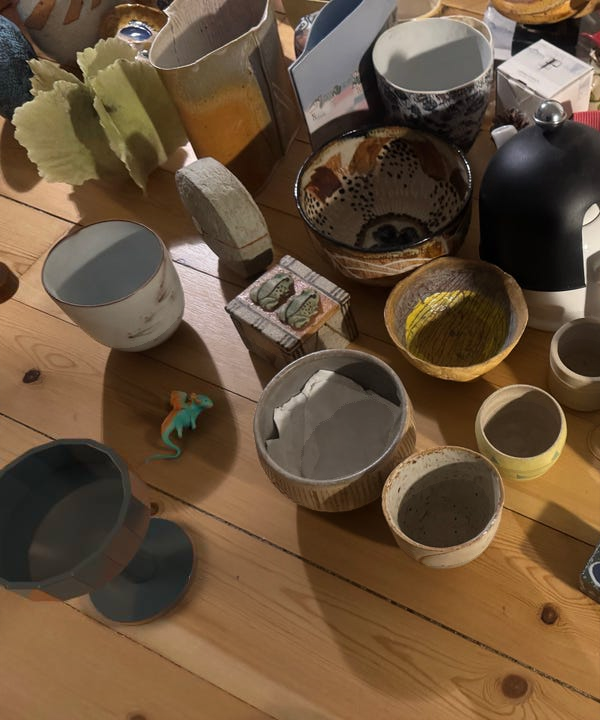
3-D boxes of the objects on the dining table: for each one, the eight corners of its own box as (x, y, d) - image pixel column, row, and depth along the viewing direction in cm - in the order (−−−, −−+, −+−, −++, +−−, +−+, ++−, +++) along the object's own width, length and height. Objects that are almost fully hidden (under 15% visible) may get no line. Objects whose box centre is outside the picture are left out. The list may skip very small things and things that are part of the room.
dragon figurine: (216, 458, 81) (214, 388, 82) (144, 462, 78) (144, 390, 79) (212, 461, 87) (210, 396, 88) (146, 465, 84) (145, 398, 85)
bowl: (59, 571, 76) (-59, 509, 60) (167, 488, 80) (84, 410, 65) (120, 666, 70) (9, 625, 55) (232, 571, 75) (159, 509, 59)
